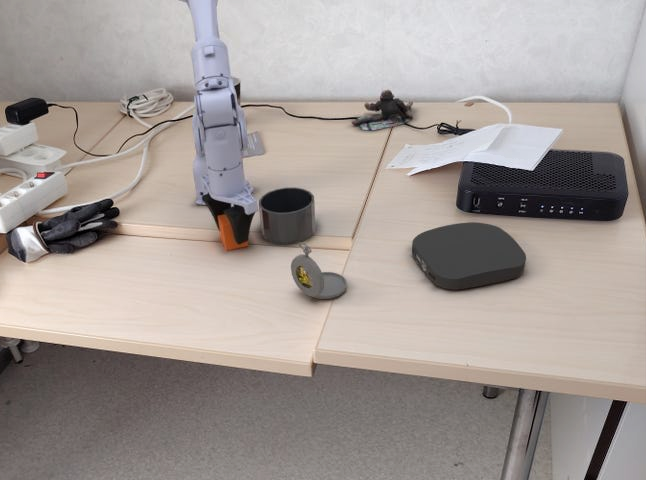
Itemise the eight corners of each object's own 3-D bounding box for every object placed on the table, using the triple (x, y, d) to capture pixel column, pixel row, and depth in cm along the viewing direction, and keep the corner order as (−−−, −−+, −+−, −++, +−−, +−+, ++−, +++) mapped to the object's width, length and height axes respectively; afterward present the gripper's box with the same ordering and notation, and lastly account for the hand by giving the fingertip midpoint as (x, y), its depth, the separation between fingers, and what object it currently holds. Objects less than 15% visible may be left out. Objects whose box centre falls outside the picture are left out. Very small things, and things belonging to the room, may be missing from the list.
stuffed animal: (426, 104, 154) (404, 89, 145) (410, 148, 157) (387, 135, 147) (382, 96, 161) (358, 80, 152) (368, 137, 163) (343, 125, 154)
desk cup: (253, 241, 120) (250, 211, 116) (272, 215, 127) (270, 185, 123) (305, 247, 117) (303, 216, 113) (322, 219, 123) (321, 189, 119)
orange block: (226, 251, 119) (222, 225, 116) (221, 240, 122) (217, 215, 119) (248, 245, 119) (245, 220, 116) (242, 235, 122) (239, 210, 119)
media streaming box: (533, 277, 102) (537, 260, 100) (439, 296, 101) (441, 279, 99) (489, 231, 113) (491, 215, 111) (404, 247, 113) (405, 231, 111)
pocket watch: (350, 278, 108) (349, 222, 101) (339, 310, 102) (338, 252, 95) (300, 274, 110) (296, 219, 104) (286, 305, 105) (282, 248, 98)
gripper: (269, 168, 108) (276, 242, 116) (220, 143, 117) (230, 214, 126) (233, 183, 105) (242, 258, 114) (185, 157, 115) (197, 227, 124)
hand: (233, 236), depth 120 cm, fingers closed on orange block, 5 cm apart
